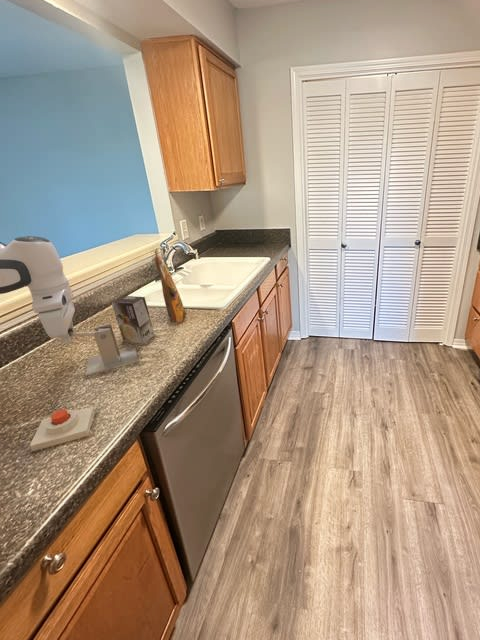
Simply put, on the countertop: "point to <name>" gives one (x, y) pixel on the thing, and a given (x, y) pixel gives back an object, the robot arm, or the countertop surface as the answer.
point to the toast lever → (82, 333)
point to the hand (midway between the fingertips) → (69, 338)
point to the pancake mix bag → (169, 291)
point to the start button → (60, 417)
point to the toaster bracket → (109, 352)
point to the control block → (63, 429)
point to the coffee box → (133, 319)
